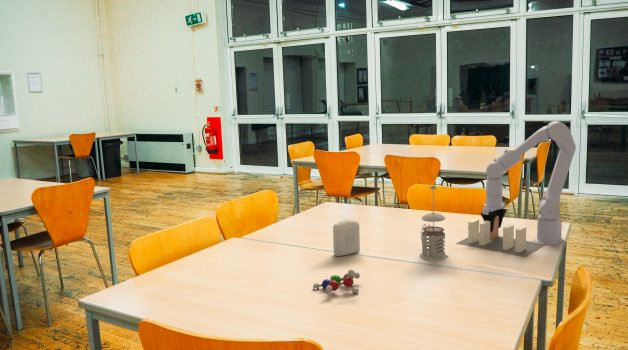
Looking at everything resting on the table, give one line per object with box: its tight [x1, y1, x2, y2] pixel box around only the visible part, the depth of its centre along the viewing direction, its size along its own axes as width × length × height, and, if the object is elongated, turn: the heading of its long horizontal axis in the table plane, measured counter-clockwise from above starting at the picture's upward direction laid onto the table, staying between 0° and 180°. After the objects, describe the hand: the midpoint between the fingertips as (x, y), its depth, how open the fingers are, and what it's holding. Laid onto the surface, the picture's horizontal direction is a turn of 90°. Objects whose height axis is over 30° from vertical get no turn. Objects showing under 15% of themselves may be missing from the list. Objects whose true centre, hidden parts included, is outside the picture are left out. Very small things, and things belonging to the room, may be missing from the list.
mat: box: [456, 232, 548, 258], centre depth 186 cm, size 18×26×1 cm
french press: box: [419, 185, 449, 262], centre depth 174 cm, size 10×12×25 cm
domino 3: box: [502, 223, 515, 250], centre depth 180 cm, size 5×2×8 cm, turn 135°
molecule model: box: [312, 268, 361, 294], centre depth 151 cm, size 15×7×14 cm
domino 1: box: [467, 218, 480, 243], centre depth 189 cm, size 5×2×8 cm, turn 135°
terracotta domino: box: [490, 216, 500, 239], centre depth 193 cm, size 5×2×8 cm, turn 135°
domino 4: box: [514, 225, 527, 252], centre depth 177 cm, size 5×2×8 cm, turn 135°
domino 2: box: [479, 220, 490, 246], centre depth 186 cm, size 5×2×8 cm, turn 135°
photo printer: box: [332, 219, 361, 257], centre depth 183 cm, size 10×4×12 cm, turn 123°
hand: (493, 229), depth 193 cm, fingers open, 6 cm apart
